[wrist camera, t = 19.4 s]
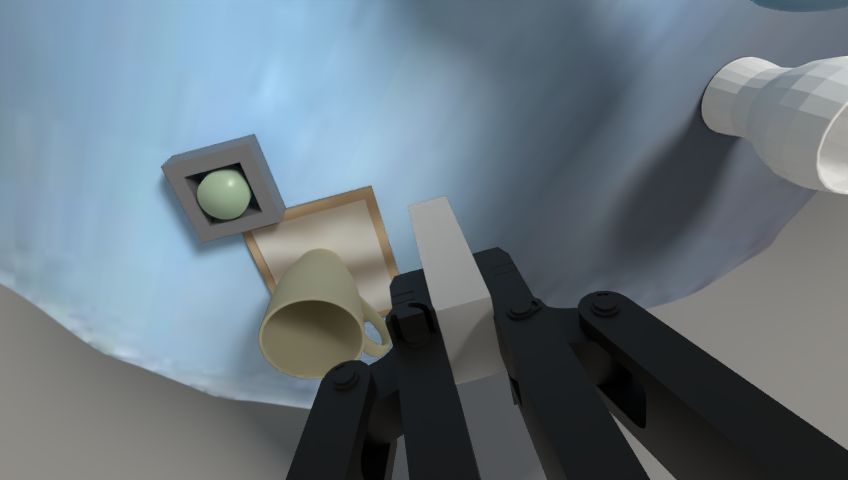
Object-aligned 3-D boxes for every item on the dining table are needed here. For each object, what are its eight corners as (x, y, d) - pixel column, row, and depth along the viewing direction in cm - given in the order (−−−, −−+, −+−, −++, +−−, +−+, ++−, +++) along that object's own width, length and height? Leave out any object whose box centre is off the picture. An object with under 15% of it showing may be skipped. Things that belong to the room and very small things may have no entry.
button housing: (171, 156, 44) (160, 166, 42) (254, 133, 44) (248, 143, 42) (210, 228, 48) (202, 243, 45) (286, 208, 48) (282, 221, 46)
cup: (728, 163, 53) (853, 222, 40) (667, 113, 49) (782, 161, 36) (805, 78, 49) (970, 113, 36) (745, 18, 45) (905, 32, 32)
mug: (291, 314, 53) (277, 395, 43) (267, 238, 49) (244, 308, 38) (387, 297, 54) (396, 372, 44) (372, 221, 49) (378, 284, 39)
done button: (197, 171, 44) (188, 182, 42) (242, 159, 44) (236, 169, 42) (217, 212, 47) (210, 224, 44) (260, 200, 47) (255, 212, 44)
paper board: (238, 221, 48) (237, 224, 47) (371, 185, 48) (371, 188, 48) (294, 337, 56) (294, 341, 55) (408, 306, 56) (409, 310, 55)
